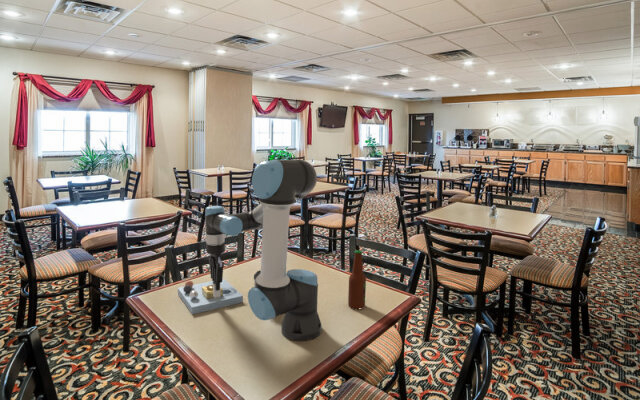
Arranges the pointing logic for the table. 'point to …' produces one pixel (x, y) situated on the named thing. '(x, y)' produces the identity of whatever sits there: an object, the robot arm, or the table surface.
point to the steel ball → (193, 295)
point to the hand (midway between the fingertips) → (216, 296)
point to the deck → (204, 304)
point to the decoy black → (187, 289)
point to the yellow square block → (209, 291)
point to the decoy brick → (189, 283)
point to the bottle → (357, 283)
